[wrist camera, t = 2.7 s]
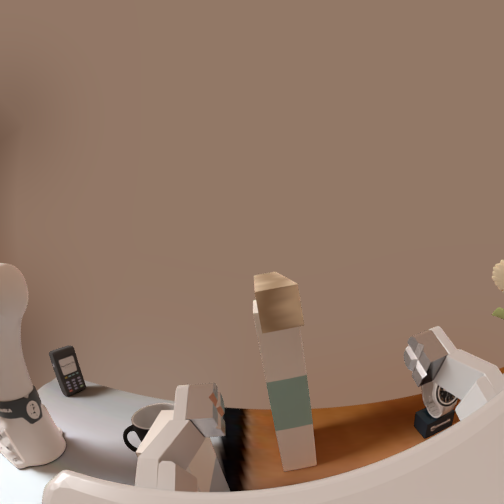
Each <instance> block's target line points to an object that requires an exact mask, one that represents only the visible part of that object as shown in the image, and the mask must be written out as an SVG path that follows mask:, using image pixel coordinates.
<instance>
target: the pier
mask: <svg viewBox="0 0 504 504" xmlns="http://www.w3.org/2000/svg"><path fill="white" fill-rule="evenodd" d="M173 413H174V410H161V412H160V413H159V415H158V417H157V418H156V420H155V421H154V423H153V425H152V426H151V428H150V430H149V431H148V433H147V434H146V436H145V438H144V439H143V441H142V442H141V444H140V446H139V447H138V449H137V451H136V454H137V456H138V457H139V456H140V455H141V454H142V452H143V451H144V450H145V449H146V448H147V447H148V445H149V444H150V443H151V442H152V441H153V439H154V438H155V437H156V436H157V435H158V434H159V432H160V431H161V430H162V429H163V428H164V426H165V425H166V424H167V423H168V421H169V420H173ZM186 471H187V472H189V473H190V474H192V475H193V476H195V477H196V478H197V487H198V492H230V489H229V487H228V484H227V482H226V480H225V477H224V475H223V472H222V470H221V467H220V464H219V462H218V459H217V456H216V454H215V451H214V448H213V445H212V443H211V440H210V437H206V438H205V440H204V442H203V443H202V445H201V447H200V448H199V450H198V451H197V453H196V455H195V456H194V458H193V459H192V461H191V463H190V464H189V466H188V467H187V469H186Z"/></svg>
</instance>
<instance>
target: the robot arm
mask: <svg viewBox="0 0 504 504" xmlns="http://www.w3.org/2000/svg"><path fill="white" fill-rule="evenodd" d="M27 304H28V288H27V284H26V281H25V279H24V276H23V275H22V273H21V272H20V271H19V270H18V269H17V268H16V267H14V266H13V265H10V264H5V263H0V453H1V454H2V455H3V456H4V457H5V458H7V459H8V460H9V461H10V462H11V463H12V464H13V465H14V466H15V467H16V468H19V469H20V468H25V467H28V466H38V465H44V464H47V463H50V462H52V461H54V460H55V459H57V458H58V457H59V456H60V455H61V454H62V453H63V452H64V450H65V448H66V442H65V440H64V438H63V437H62V434H63V432H62V430H61V429H60V428H59V427H57V426H56V425H55V423H54V421H53V419H52V418H51V416H50V414H49V412H48V410H47V409H46V407H45V406H44V405H43V404H41V400H40V398H39V394H38V392H37V391H36V388H35V386H33V385H32V382H31V380H30V377H29V374H28V371H27V368H26V364H25V361H24V358H23V353H22V348H21V320H22V316H23V314H24V312H25V310H26V307H27ZM408 344H409V346H408V347H407V348H406V349H405V352H404V361H405V364H406V366H407V368H408V369H410V370H412V371H413V373H412V376H413V379H414V380H415V382H416V384H417V386H418V387H419V386H422V385H424V384H426V383H429V382H431V381H433V380H434V381H433V382H435V383H436V384H438V385H439V386H441V387H442V388H444V389H445V390H447V391H448V392H450V393H451V394H453V395H454V396H456V397H457V398H459V399H460V400H461V402H460V403H459V404H458V405H457V407H456V409H455V411H456V413H457V415H458V417H459V419H460V421H459V422H458V423H456V424H454V425H453V426H451V427H449V428H448V429H446V430H444V431H443V432H441V433H439V434H437V435H435V436H433V437H432V438H430V439H428V440H426V441H424V442H422V443H420V444H418V445H416V446H414V447H412V448H409V449H407V450H405V451H403V452H400V453H398V454H396V455H393V456H391V457H389V458H386V459H384V460H381V461H378V462H376V463H373V464H370V465H367V466H364V467H361V468H358V469H355V470H352V471H349V472H346V473H342V474H339V475H335V476H331V477H327V478H323V479H319V480H315V481H310V482H305V483H300V484H295V485H289V486H283V487H276V488H269V489H260V490H250V491H235V492H198V487H197V478H196V477H195V476H193V475H192V474H190V473H189V472H187V471H186V469H187V467H188V466H189V464H190V463H191V461H192V459H193V458H194V456H195V455H196V453H197V451H198V450H199V448H200V447H201V445H202V443H203V442H204V440H205V438H206V437H218V436H225V422H224V420H223V418H222V416H223V414H224V402H223V398H222V395H221V393H220V392H218V391H217V385H216V384H215V383H208V384H195V385H179V386H178V387H177V389H176V395H175V404H174V413H173V420H169V421H168V423H167V424H166V425H165V426H164V428H163V429H162V430H161V431H160V432H159V434H158V435H157V436H156V437H155V438H154V439H153V441H152V442H151V443H150V444H149V445H148V447H147V448H146V449H145V450H144V451H143V452H142V454H141V455H140V456H139V457H138V460H137V468H136V477H135V486H132V485H126V484H121V483H116V482H111V481H107V480H103V479H99V478H95V477H91V476H87V475H84V474H81V473H77V472H74V471H71V470H63V471H61V472H60V473H58V474H57V475H56V476H55V477H54V478H53V479H51V480H50V481H49V482H48V483H47V484H46V486H45V488H44V491H43V497H42V504H504V376H503V375H502V373H501V372H500V370H499V369H498V367H497V366H496V365H494V364H491V363H489V362H487V361H485V360H483V359H480V358H478V357H476V356H474V355H472V354H470V353H467V352H465V351H463V350H461V349H459V350H457V349H456V347H455V346H454V344H453V343H452V342H451V340H450V339H449V338H448V336H447V335H446V334H445V333H444V331H443V330H442V329H441V327H439V326H436V327H434V328H431V329H429V330H426V331H423V332H421V333H419V334H416V335H414V336H411V337H410V338H409V340H408Z"/></svg>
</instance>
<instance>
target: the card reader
mask: <svg viewBox="0 0 504 504" xmlns="http://www.w3.org/2000/svg"><path fill="white" fill-rule="evenodd" d="M49 356H50V359H51V362H52V365H53V368H54V371H55V374H56V377H57V380H58V382H59V385H60V387H61V390H62V392H63V394H64V395H65V396H70V395H73V394H75V393H77V392H79V391H81V390H83V389H85V388H86V385H85V382H84V379H83V376H82V373H81V370H80V367H79V364H78V360H77V357H76V354H75V350H74V348H73V346H65V347H62V348H59V349H56V350H53V351H50V352H49Z"/></svg>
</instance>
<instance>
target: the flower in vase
mask: <svg viewBox="0 0 504 504" xmlns="http://www.w3.org/2000/svg"><path fill="white" fill-rule="evenodd" d="M495 266H496V267H493V269H494V271H493V275H494V276H492V279H493V280H494V281H495V285H496V286H499V287H498V289H499V290H501V291H503V293H504V260H501V261H500V263H499V264H496V265H495ZM492 315H493V316H497V317H499V318H502V319H504V309H502V308H497V309H496V310H495V311H494V312H493V314H492ZM502 375H503V376H504V374H502Z"/></svg>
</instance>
